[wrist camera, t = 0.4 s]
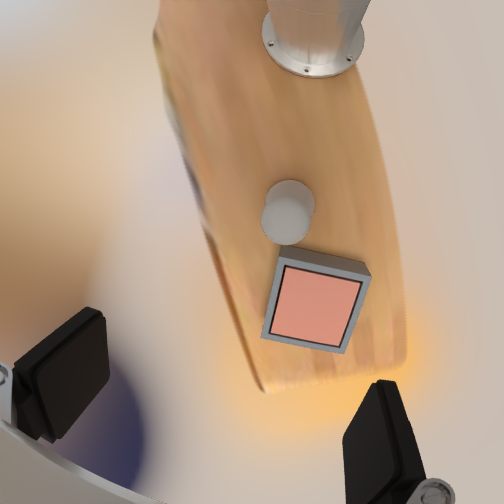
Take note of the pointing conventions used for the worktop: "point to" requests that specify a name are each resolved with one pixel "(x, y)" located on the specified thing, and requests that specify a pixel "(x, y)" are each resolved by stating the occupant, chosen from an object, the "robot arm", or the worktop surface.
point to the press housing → (323, 265)
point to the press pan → (314, 305)
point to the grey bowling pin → (287, 212)
